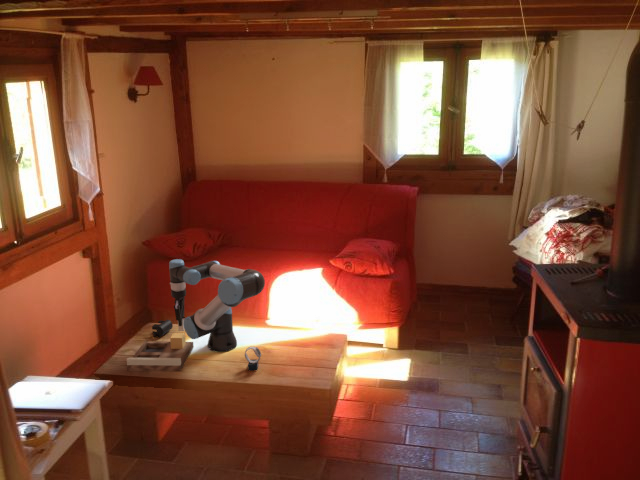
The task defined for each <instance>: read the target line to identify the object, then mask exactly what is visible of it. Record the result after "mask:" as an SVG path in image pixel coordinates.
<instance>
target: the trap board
mask: <svg viewBox="0 0 640 480" xmlns="http://www.w3.org/2000/svg"><path fill="white" fill-rule="evenodd" d="M185 342H186V344H185V345H184V347H183V349H171V342H170V341H147V340H146V341H143V343H142V344H141V345H140V347H139V348H138V349H137V351H136V352H135V354H134V355H133V356H132V357H127V358H126V367H127V371H128V372H131V371H132V370H133V371H132V372H135V371H136V372H139V371H142V372H181V371H182V370H183V368H184V366H185V364H186V362H187V360H188V358H189V356H190V355H191V352H192V351H193V349H194V341H185ZM129 370H130V371H129Z"/></svg>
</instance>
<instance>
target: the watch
mask: <svg viewBox="0 0 640 480" xmlns="http://www.w3.org/2000/svg"><path fill="white" fill-rule="evenodd" d="M249 350H250V351H251V350H252V351H253V352H254V354H255V356H256V357H257V358H258V359H250V357H249V356H248V354H247V351H249ZM261 357H262V352H261V350H260V349H259V348H258V347H257V346H249V347H248V348H246V349H245V352H244V358H245V360H246V361H247V362H248V364H247V369H248V370H247V371H249V370H250V371H251V372H255V371H254V370H257V371H258V369H259V362H260V360H261ZM250 371H249V372H250Z"/></svg>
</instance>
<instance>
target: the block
mask: <svg viewBox="0 0 640 480" xmlns="http://www.w3.org/2000/svg"><path fill="white" fill-rule="evenodd" d="M185 333H186V332H173V333H172V334H171V336H170V341H169V342H171V349H183V347H184V345H185V344H186V342H187V341H186V334H185Z"/></svg>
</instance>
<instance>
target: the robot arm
mask: <svg viewBox="0 0 640 480" xmlns="http://www.w3.org/2000/svg"><path fill="white" fill-rule="evenodd" d="M168 264H169V265H168V267H169V268H168V271H169V280H170V282H169V285H170V289H171V290H170V293H171V294H170V295H171V297H172V298H174V304H175V305H174V306H173V309H174V315H175V321H177V326H178V328H177V329H178V330H177V331H178V332H184V331H185V333H186V335H187V337H188V338H189V339H191V340H196V339H199V338H202V337H204V336H206V335H208V334H209V337H208V340H207V348H208V349H209V350H210V351H213V352H217V353H222V352H224V353H225V352H229V351H232V350H233V349H235V348H236V347H237V346H238V341H237V337H236V336H235V333H234V328H233V326H234V325H233V311H232V310H233V309H232V308H235V307H237V306H239V305H240V304H241V303H243V301H245V300H247V299H250V298H252V297H256V296H257V295H259V294H260V293H262V292H263V290H264V288H265V285H266V280H265V277H264V275H263V274H262V272H260V271H258V270H256V269H252V268H247V269H241V268H238V267H233V266H232V267H231V266H228V265H224V264H221V263H220V262H219V261H217V260H210V261H208V262H205V263H201V264H198V265H194V266H192V267H188V266H186V265H185V262H184V260H183V259H181V258H179V259H178V258H176V259H172V260H170V261H169V263H168ZM207 278H211V279H216V280H221V281H220V283H219V284H218V287H217V295H216V296H215V297H214V298H213V299H212V300H211V301H210V302H209V303H208V304H207V305H206V306H205V307H204V308H199V309H198V310H196V311H195V313H193V314H191V315H188V316H187V317H185V299H186V296H187V289H186V286H187V285H192V286H196V285H197V284H198V283H199V282H200V281H201V280H204V279H207ZM186 284H187V285H186Z"/></svg>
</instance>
